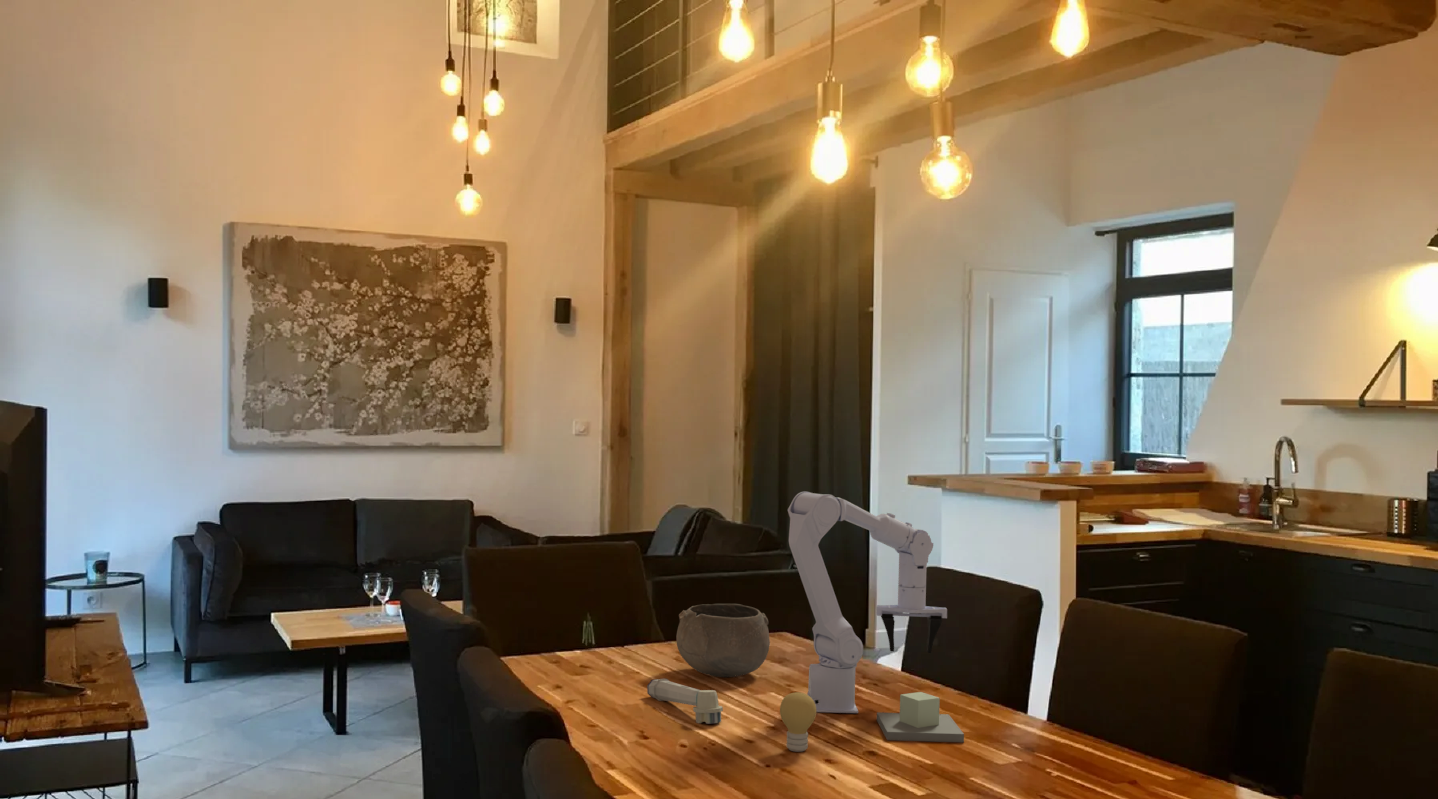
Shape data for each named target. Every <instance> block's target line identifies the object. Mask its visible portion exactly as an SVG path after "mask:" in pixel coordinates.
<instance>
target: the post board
mask: <svg viewBox="0 0 1438 799" xmlns="http://www.w3.org/2000/svg"><path fill="white" fill-rule="evenodd" d="M876 722H877V723H878V725H879V727H880V729H881V732H882V733H883V736H884V737H885V739H886V740H887V741H903V742H904V741H905V742H906V741H907V742H936V743H938V742H941V743H942V742H943V743H964V742H965V733H964V732H963V731H962V729H961V728H960V727H959V726H958V724H957V723H956V722H955V721H954V719H953V718H952V717H951V716H950V714H949V713H948V714H946V713H945V714H944V713H943V714H942V713H939V725H933V726H926V727H920V728H917V727H914V726H912V725H909V724H906V723H903V722H901V721H900V712H884V711H883V712H881V711H880V712H879V711H877V712H876Z"/></svg>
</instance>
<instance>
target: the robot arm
mask: <svg viewBox="0 0 1438 799" xmlns="http://www.w3.org/2000/svg"><path fill="white" fill-rule="evenodd" d="M787 512H788V516H789V528H788V529H789V531H788V545H789V546H788V547H789V549H790V551H791V554H792V557H793V560H794V563H795V565H796V567H797V571H798V573H799V574H798V575H799V576H800V580H801V583H802V585H803V588H804V591H805V594H806V597H807V600H808V603H809V606H810V609H811V611H812V614H813V617H814V619H815V624H813V627H812V628H811V629H812V633H813V649H814V651H815V653H816V655H817V656H818V661H819V663H810V664H809V666H808V691H807V693H806V694H807V695H808V696H810V697H811V698H812V699H813V701H814V703H815V705H816V713H835V714H836V713H838V714H841V713H842V714H858V713H859V710H858V706H856V700H855V697H856V696H855V694H856V693H855V692H856V668H857V666H858V665H857V664H858V663H859V662H860V660H861V659H862V657H863V653H864V645H863V642H862V640H861V639H860V637H858V636H857V635H856V633H855V631H854V629H853V626H852V625H851V624H850V623H849V621H847V620H846V618H845V617H844V616H843V614H842V611H841V608H840V605H839V602H838V599H837V596H836V594H835V591H834V587H833V584H832V582H831V578H830V576H829V574H828V570H827V568H826V565H825V562H824V559H823V556H822V553H821V549H820V548H819V547H820V546H819V544H820V542H821V540H822V538H823V537H824V536H825V535H826V534H827V533H828V532H829V531H830V530H831V528H833V527H834V525H836V523H837V522H843V521H846V522H848V523H851V524H853V525H856V526H858V527H859V528H860V527H861V528H862V529H865V530H868V531H869V534H870V537H871V539H873V540H875V541H876V542H879V543H882V544H884V545H886V546H888V547H890V548H892V549H894V550H895V552H896V553H897V554H898V580H897V581H898V582H897V584H898V586H897V591H898V592H897V604H876V605H875V607H876V608H875V615H876V616H879V617H881V620H882V622H883V625H884V628H885V631H886V633H887V639H888V644H889V651H890V652H895V635H894V634H895V622H896V620H895V617H896V616H897V617H916V618H917V617H920V618H927V639H926V652H927V653H928V654H931V653H932V649H933V645H934V642H935V638H936V636H937V634H938V632H939V630H940V627H941V626H942V624H943V619H948V609H947V607H939V606H927V604H926V601H927V600H926V599H927V598H926V596H927V594H926V593H927V564H928V563H929V557H930V554H931V553H932V551H933V548H934V542H932V539H931V537H930V535H929V533H928V532H927V531H925V530H924V529H919V528H914V527H913V524H912V523H910V522H903V521H901V520H899V519H897V518H896V514H893V513H888V512H886V513H880V514H878V515H875V514H872V513H871V512H869V511H867V510H865V509H863V508H861V507H860V506H858V505H856V504H854V503H852V502H850V501H848V500H846V499H844V498H841V497H835V496H834V495H833V494H829V493H828V494H822V493H815V492H814V493H813V492H810V491H805V490H804V491H800V492H798V493H797V494H796V495H795V496H794V497H793V499H792V500H791V503H790V505H789V507H788V508H787Z"/></svg>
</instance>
